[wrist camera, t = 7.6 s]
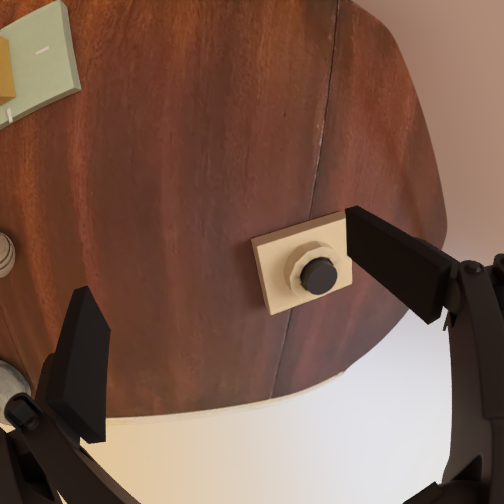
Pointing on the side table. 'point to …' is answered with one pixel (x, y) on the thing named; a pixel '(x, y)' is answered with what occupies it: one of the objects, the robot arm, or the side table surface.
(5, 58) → the lock knob
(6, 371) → the stone
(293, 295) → the doorbell
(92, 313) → the robot arm
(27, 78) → the plate
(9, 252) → the door knob
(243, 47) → the side table surface
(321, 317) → the side table surface
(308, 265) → the bell button
